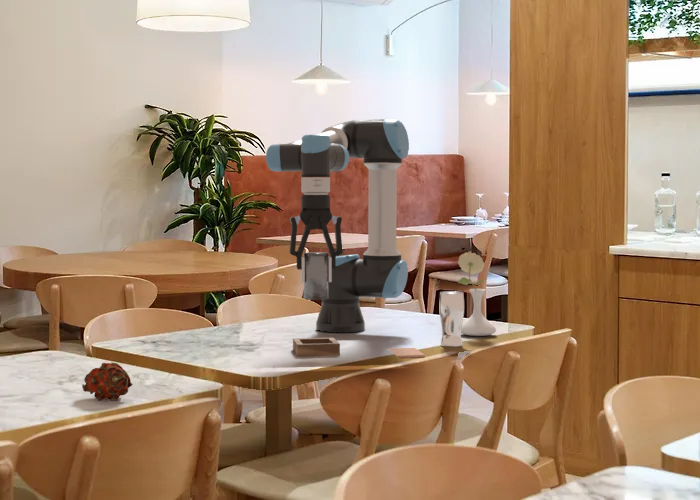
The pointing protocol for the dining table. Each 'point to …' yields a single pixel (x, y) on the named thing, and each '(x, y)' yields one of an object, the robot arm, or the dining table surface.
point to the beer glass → (451, 317)
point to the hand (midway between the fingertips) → (316, 281)
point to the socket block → (316, 347)
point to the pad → (406, 352)
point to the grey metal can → (316, 276)
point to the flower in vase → (474, 297)
